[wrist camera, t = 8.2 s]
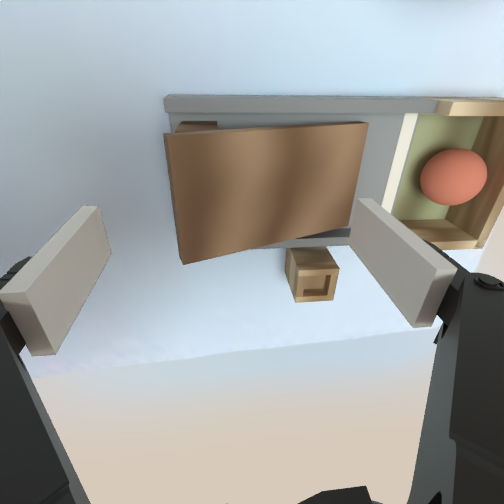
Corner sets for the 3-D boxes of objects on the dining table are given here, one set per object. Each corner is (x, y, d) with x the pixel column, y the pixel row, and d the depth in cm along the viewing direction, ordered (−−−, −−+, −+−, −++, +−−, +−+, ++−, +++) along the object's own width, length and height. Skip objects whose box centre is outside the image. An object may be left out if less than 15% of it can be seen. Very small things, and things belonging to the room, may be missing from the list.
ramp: (185, 226, 24) (178, 265, 20) (173, 120, 20) (160, 136, 15) (344, 221, 26) (374, 256, 21) (363, 120, 22) (406, 135, 17)
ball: (466, 219, 22) (478, 203, 25) (491, 159, 20) (502, 149, 23) (405, 203, 25) (422, 190, 27) (421, 148, 22) (438, 140, 25)
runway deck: (186, 234, 26) (182, 252, 24) (170, 94, 21) (163, 98, 18) (378, 227, 28) (395, 243, 26) (412, 96, 22) (439, 100, 20)
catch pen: (378, 227, 28) (404, 251, 24) (412, 96, 22) (453, 102, 19) (447, 224, 29) (482, 248, 25) (497, 97, 23) (553, 102, 19)
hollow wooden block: (284, 272, 30) (295, 302, 26) (287, 242, 28) (299, 270, 24) (317, 270, 30) (333, 300, 26) (322, 241, 28) (339, 268, 24)
